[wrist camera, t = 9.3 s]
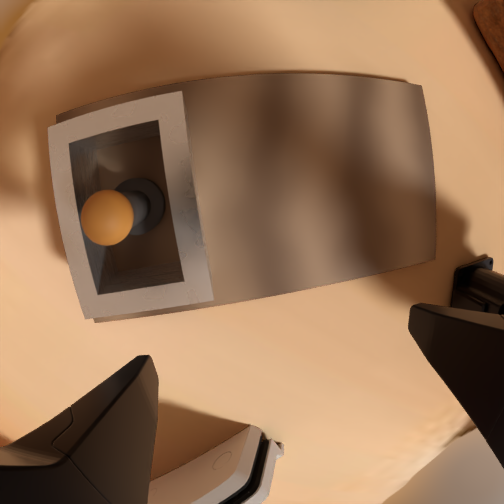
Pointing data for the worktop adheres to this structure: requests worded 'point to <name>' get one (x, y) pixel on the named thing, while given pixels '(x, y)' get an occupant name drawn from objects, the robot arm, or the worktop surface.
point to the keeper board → (277, 184)
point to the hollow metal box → (88, 182)
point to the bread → (492, 25)
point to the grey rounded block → (222, 473)
